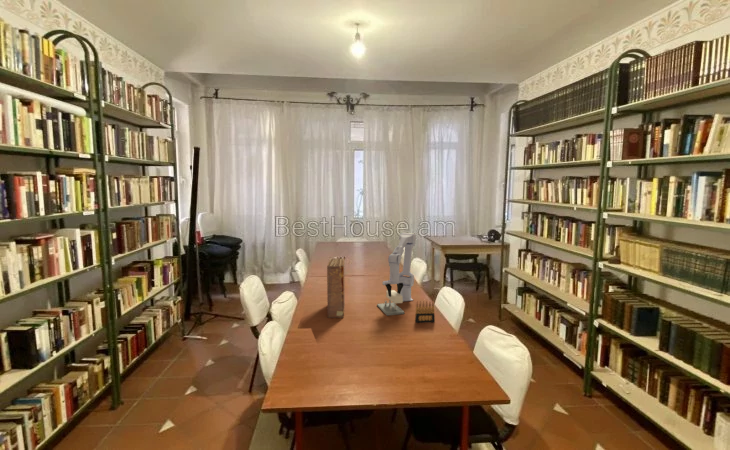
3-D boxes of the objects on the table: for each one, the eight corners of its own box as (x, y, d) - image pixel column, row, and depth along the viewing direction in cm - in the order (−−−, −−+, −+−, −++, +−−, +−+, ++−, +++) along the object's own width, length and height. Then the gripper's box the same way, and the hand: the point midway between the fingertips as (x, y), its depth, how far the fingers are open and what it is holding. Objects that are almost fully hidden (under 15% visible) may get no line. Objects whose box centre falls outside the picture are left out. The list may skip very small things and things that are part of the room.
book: (330, 303, 241) (329, 257, 238) (344, 303, 242) (344, 257, 238) (327, 318, 216) (327, 266, 213) (343, 317, 216) (343, 266, 213)
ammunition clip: (415, 322, 209) (416, 301, 208) (414, 321, 211) (415, 300, 210) (434, 322, 210) (435, 301, 209) (433, 321, 212) (434, 300, 210)
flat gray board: (377, 305, 237) (377, 299, 237) (393, 304, 240) (393, 297, 240) (386, 315, 220) (386, 308, 220) (404, 313, 223) (404, 306, 223)
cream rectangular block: (386, 296, 236) (386, 290, 236) (393, 296, 238) (393, 289, 237) (394, 303, 223) (394, 296, 222) (402, 302, 224) (402, 296, 224)
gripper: (385, 276, 222) (385, 298, 224) (408, 274, 227) (407, 296, 228) (381, 273, 229) (381, 295, 231) (403, 271, 233) (403, 293, 235)
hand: (394, 295), depth 230 cm, fingers closed on cream rectangular block, 5 cm apart
